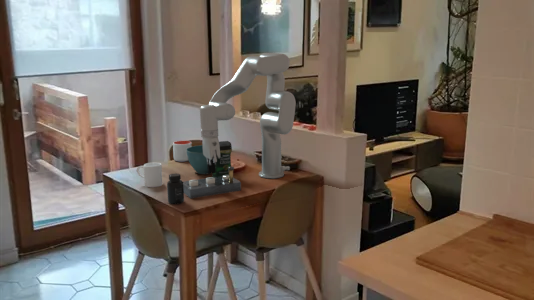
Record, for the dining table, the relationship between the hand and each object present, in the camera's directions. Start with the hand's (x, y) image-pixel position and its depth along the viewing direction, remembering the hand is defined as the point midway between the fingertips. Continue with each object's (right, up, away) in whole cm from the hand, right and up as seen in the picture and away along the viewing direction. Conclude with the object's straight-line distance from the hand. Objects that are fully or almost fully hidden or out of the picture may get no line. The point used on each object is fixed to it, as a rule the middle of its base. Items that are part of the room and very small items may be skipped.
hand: (211, 172), depth 236 cm
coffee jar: (+3, -4, +20) cm, 20 cm away
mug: (-30, -6, +10) cm, 33 cm away
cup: (-22, +4, +55) cm, 60 cm away
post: (+9, -4, 0) cm, 10 cm away
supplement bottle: (-14, -12, -14) cm, 23 cm away
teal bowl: (-7, -1, +31) cm, 32 cm away
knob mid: (-1, -7, +1) cm, 8 cm away
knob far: (-8, -8, -2) cm, 12 cm away
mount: (-1, -8, +1) cm, 8 cm away
